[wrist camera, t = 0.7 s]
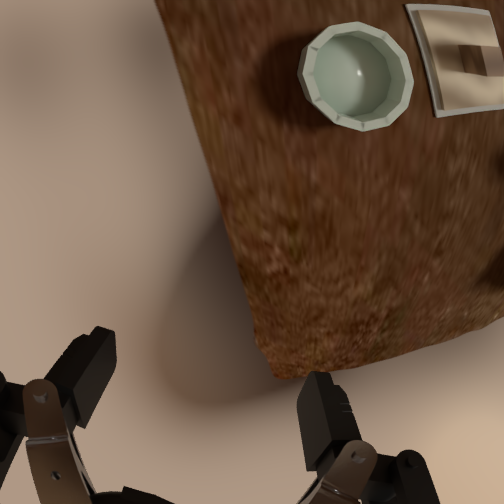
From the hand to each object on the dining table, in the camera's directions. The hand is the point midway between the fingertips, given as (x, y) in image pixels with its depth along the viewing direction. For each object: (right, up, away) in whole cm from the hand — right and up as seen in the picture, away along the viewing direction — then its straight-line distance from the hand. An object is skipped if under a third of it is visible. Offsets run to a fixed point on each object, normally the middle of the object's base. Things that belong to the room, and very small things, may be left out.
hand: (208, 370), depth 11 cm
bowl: (+13, +25, +17) cm, 33 cm away
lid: (+31, +31, +12) cm, 45 cm away
